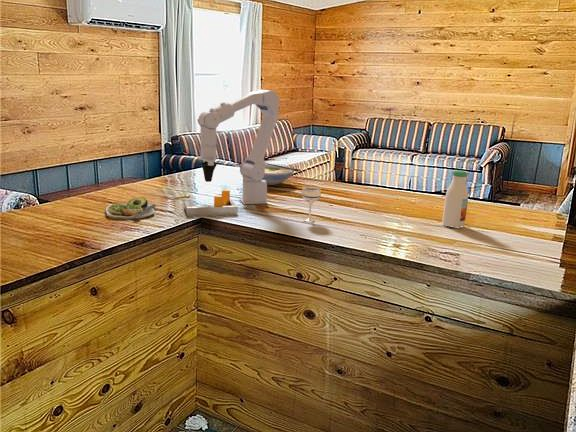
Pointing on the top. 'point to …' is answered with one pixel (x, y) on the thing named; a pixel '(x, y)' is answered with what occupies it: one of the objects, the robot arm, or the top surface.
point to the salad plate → (131, 209)
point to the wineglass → (310, 196)
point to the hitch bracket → (211, 210)
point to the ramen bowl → (277, 173)
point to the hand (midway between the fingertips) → (208, 181)
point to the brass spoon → (182, 196)
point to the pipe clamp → (222, 199)
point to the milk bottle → (456, 200)
